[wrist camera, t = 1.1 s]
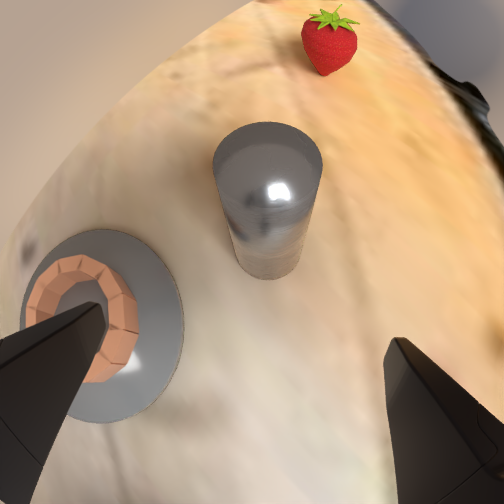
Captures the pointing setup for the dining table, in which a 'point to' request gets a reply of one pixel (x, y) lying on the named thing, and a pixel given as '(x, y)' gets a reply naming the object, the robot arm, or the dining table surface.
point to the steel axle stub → (267, 194)
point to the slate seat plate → (151, 317)
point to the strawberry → (329, 41)
